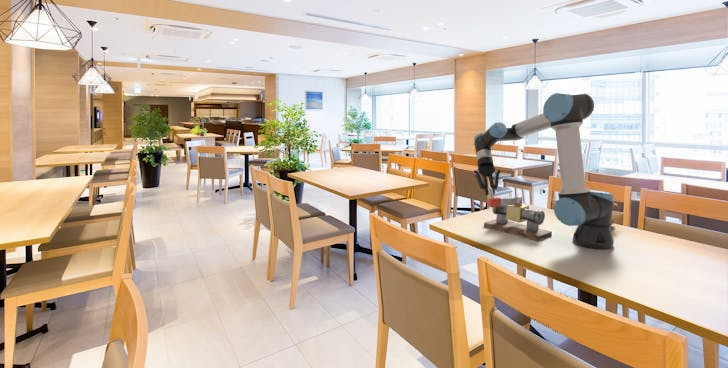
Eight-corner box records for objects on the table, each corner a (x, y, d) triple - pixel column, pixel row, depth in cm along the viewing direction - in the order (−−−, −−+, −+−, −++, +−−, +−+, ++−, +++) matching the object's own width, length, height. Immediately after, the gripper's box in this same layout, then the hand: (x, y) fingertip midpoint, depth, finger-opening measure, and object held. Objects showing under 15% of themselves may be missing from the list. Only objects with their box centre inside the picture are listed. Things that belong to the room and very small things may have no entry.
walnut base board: (551, 235, 178) (551, 231, 178) (537, 241, 171) (537, 236, 171) (498, 222, 200) (498, 218, 200) (483, 226, 193) (484, 222, 193)
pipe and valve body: (543, 231, 178) (545, 209, 176) (535, 234, 174) (537, 211, 172) (499, 220, 197) (501, 200, 195) (491, 222, 193) (492, 202, 191)
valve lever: (519, 203, 186) (519, 195, 185) (523, 205, 182) (524, 197, 181) (487, 205, 182) (487, 197, 181) (491, 207, 178) (492, 199, 178)
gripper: (496, 164, 198) (504, 204, 185) (469, 164, 199) (475, 204, 186) (500, 155, 192) (508, 196, 179) (472, 155, 193) (478, 196, 180)
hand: (491, 200), depth 183 cm, fingers closed
